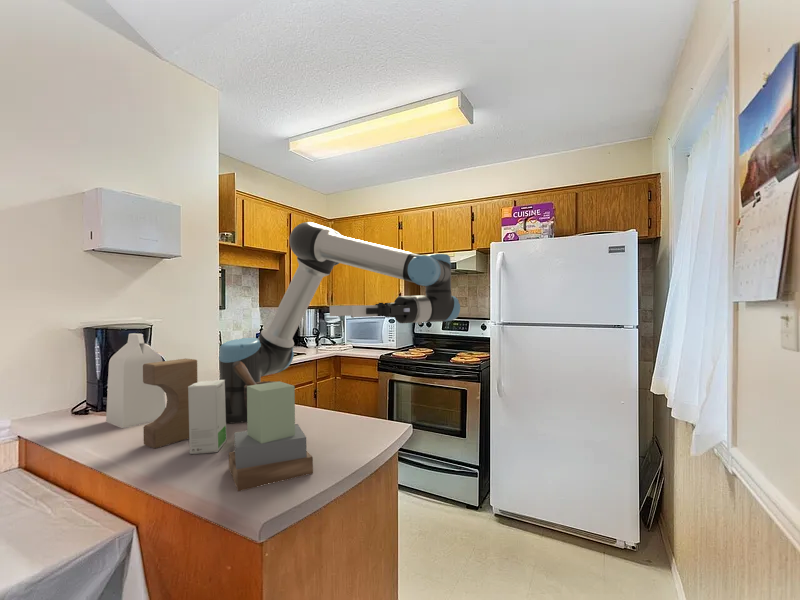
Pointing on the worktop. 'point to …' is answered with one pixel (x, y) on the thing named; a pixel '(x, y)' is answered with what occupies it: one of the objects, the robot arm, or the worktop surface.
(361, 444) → the worktop surface
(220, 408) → the skincare box
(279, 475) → the walnut base slab
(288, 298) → the robot arm
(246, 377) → the mortar and pestle
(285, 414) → the sage block
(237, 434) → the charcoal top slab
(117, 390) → the milk
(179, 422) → the decorative block
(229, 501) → the worktop surface
